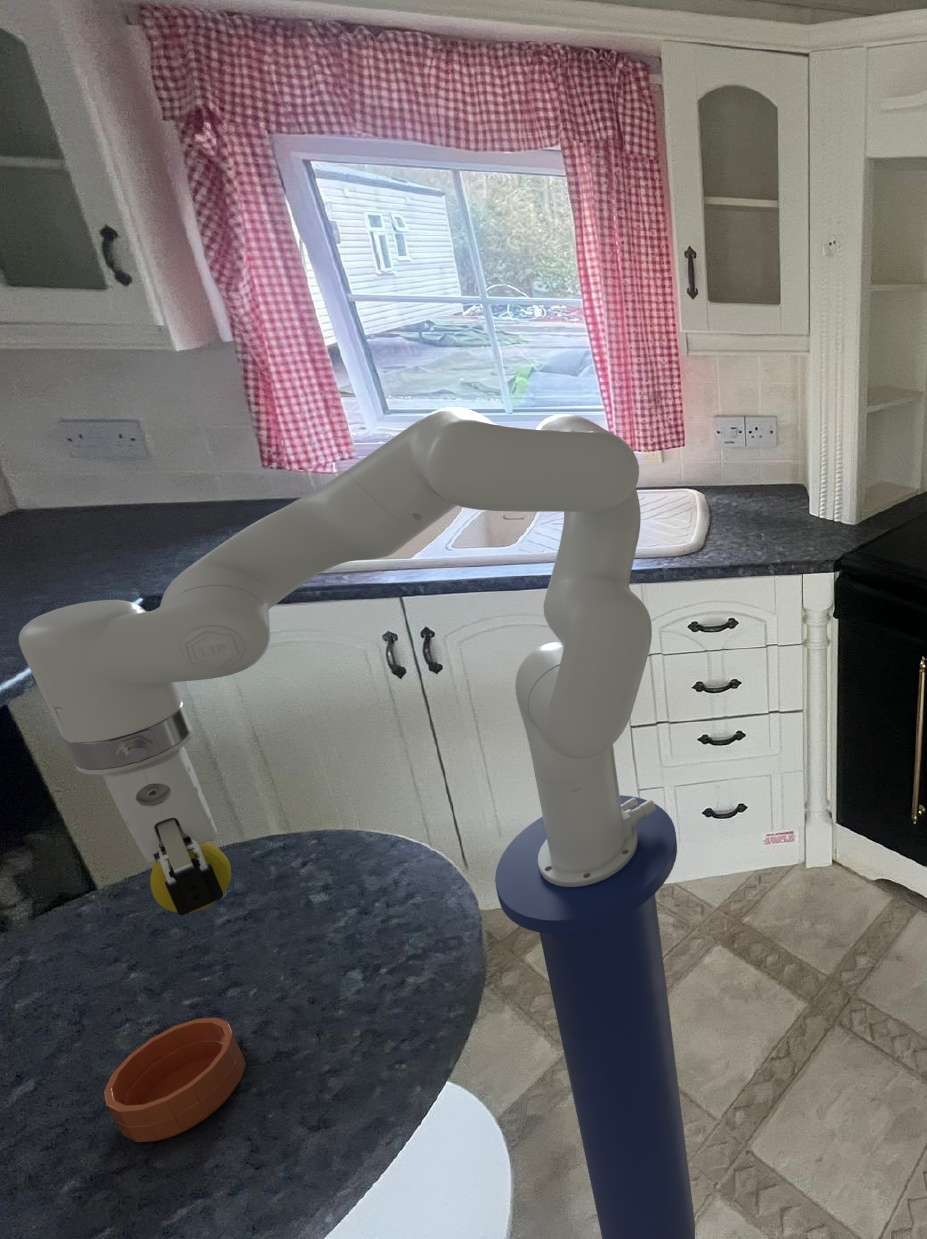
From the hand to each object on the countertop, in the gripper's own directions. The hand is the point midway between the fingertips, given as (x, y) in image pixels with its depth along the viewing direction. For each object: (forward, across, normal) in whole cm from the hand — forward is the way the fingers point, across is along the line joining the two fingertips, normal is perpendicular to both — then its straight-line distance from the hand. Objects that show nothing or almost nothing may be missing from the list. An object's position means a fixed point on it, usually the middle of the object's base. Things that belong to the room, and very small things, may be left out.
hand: (195, 885), depth 72 cm
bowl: (+18, -7, +6) cm, 20 cm away
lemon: (+3, 0, 0) cm, 3 cm away
